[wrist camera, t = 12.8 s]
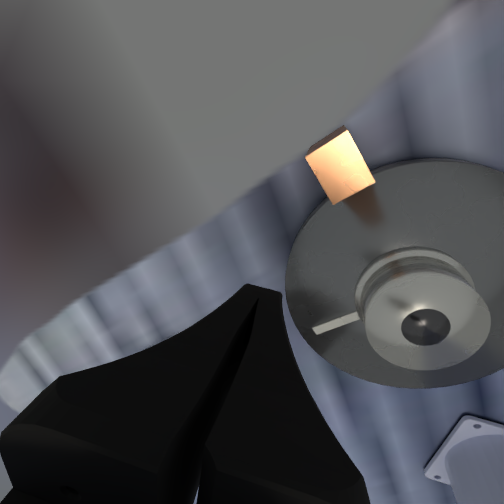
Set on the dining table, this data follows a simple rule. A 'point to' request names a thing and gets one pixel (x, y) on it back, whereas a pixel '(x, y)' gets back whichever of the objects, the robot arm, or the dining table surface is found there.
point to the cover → (421, 309)
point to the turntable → (390, 238)
